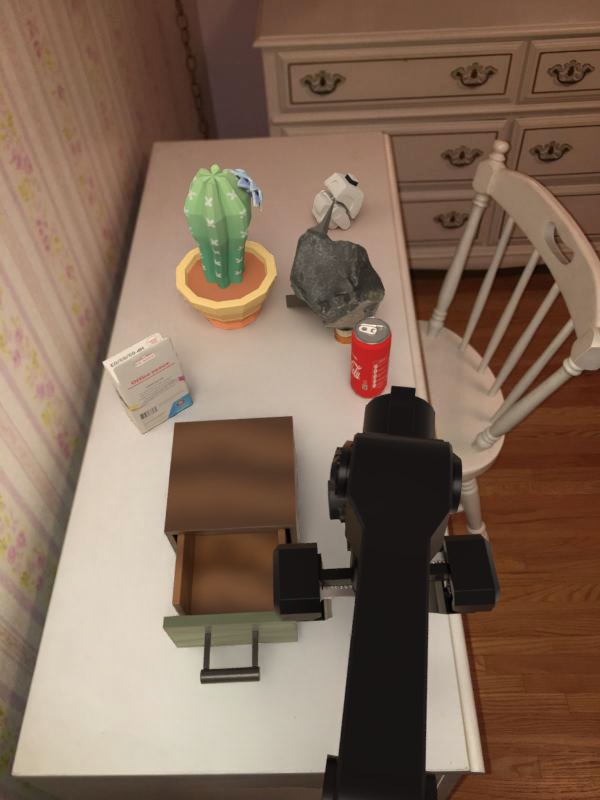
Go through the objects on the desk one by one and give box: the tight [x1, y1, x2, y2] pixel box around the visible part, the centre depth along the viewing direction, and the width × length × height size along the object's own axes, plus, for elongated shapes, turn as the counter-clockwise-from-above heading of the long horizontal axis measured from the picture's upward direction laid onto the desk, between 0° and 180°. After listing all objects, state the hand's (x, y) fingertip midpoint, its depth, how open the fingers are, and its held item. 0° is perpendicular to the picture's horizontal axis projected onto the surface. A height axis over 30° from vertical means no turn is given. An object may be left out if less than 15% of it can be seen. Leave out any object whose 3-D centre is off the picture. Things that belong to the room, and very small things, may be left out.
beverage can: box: [349, 316, 393, 400], centre depth 88 cm, size 5×5×12 cm
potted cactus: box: [175, 164, 278, 331], centre depth 93 cm, size 15×15×25 cm
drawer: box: [162, 529, 298, 685], centre depth 71 cm, size 18×13×7 cm
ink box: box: [101, 331, 193, 435], centre depth 86 cm, size 8×5×15 cm, turn 127°
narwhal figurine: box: [285, 197, 386, 345], centre depth 92 cm, size 14×15×18 cm
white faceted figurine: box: [311, 172, 365, 231], centre depth 111 cm, size 6×7×10 cm
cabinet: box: [163, 415, 301, 555], centre depth 79 cm, size 15×15×9 cm
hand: (377, 608), depth 62 cm, fingers open, 9 cm apart
